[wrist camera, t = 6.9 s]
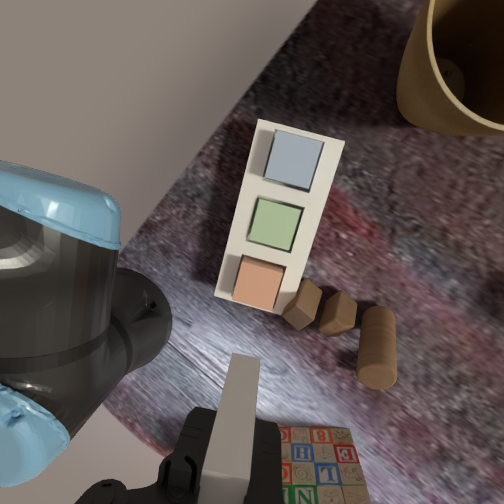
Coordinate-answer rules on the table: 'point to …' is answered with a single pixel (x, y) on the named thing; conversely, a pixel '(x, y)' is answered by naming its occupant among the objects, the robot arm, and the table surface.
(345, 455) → the stack of blocks
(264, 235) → the sage key
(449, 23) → the plant pot
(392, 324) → the wooden block set
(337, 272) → the table surface
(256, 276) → the terracotta key
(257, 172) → the key console
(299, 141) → the blue key
